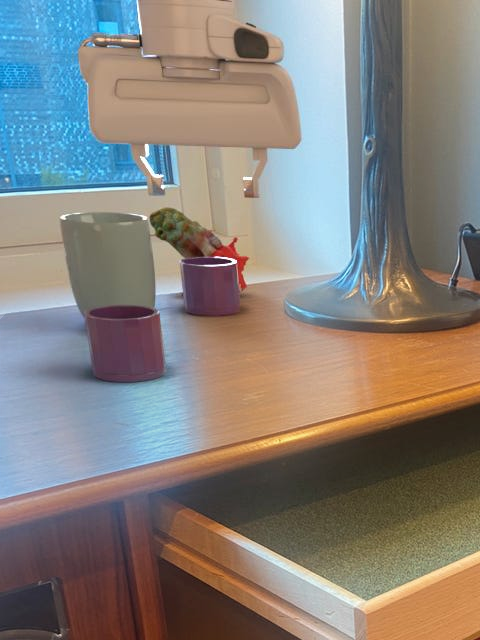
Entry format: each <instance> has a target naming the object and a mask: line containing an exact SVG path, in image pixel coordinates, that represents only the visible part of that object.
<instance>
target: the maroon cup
mask: <svg viewBox="0 0 480 640" xmlns="http://www.w3.org/2000/svg"><path fill="white" fill-rule="evenodd" d="M83 318H84V325H85V331H86V337H87V344H88V350H89V355H90V363H91V367H92V370H93V372H92V373H93V375H94V377H96V378H97V379H100V380H102V381H107V382H115V383H137V382H144V381H145V382H146V381H150V380H156V379H159V378H161V377H163V376H164V375H165V374H166V373H167V369H166V356H165V347H164V339H163V338H164V337H163V331H162V323H161V313H160V311H159V310H158V309H157V308H155V307H154V308H151V307H147V306H139V305H109V306H101V307H95V308H92V309H89V310H86V311H85V312H84V317H83Z"/></svg>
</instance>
